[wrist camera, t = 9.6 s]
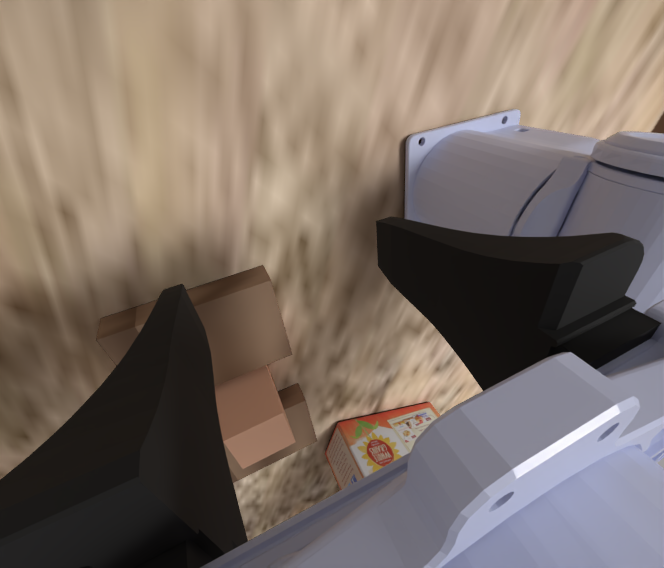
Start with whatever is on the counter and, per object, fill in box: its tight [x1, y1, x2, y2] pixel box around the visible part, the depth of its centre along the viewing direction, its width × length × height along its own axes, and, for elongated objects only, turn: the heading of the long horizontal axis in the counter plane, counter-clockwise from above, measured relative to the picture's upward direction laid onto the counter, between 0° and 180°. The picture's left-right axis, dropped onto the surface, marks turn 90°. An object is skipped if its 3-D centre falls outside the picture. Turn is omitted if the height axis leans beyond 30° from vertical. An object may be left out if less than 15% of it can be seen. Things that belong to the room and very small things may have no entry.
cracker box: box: [325, 402, 440, 490], centre depth 32 cm, size 14×6×21 cm, turn 74°
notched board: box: [96, 265, 317, 483], centre depth 26 cm, size 10×20×2 cm, turn 8°
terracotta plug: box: [215, 365, 296, 469], centre depth 24 cm, size 4×4×6 cm
